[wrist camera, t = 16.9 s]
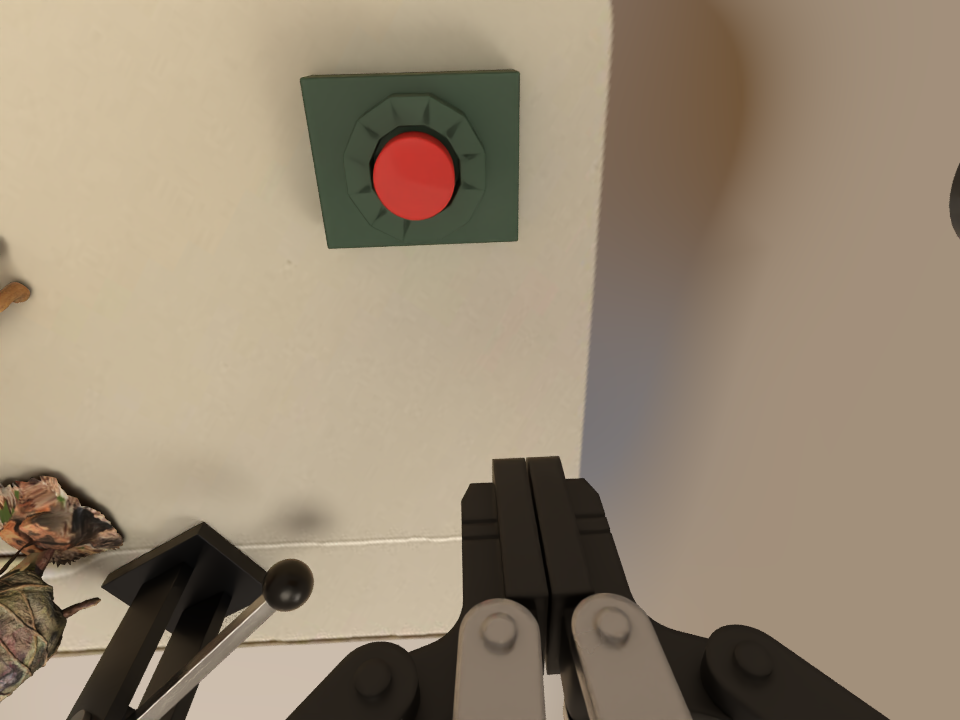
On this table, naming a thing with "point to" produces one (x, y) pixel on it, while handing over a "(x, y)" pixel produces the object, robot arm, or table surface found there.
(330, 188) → the button block
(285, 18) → the table surface
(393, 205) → the button
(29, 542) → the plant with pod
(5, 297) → the lion figurine
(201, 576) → the bracket
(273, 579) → the lever
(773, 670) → the robot arm
